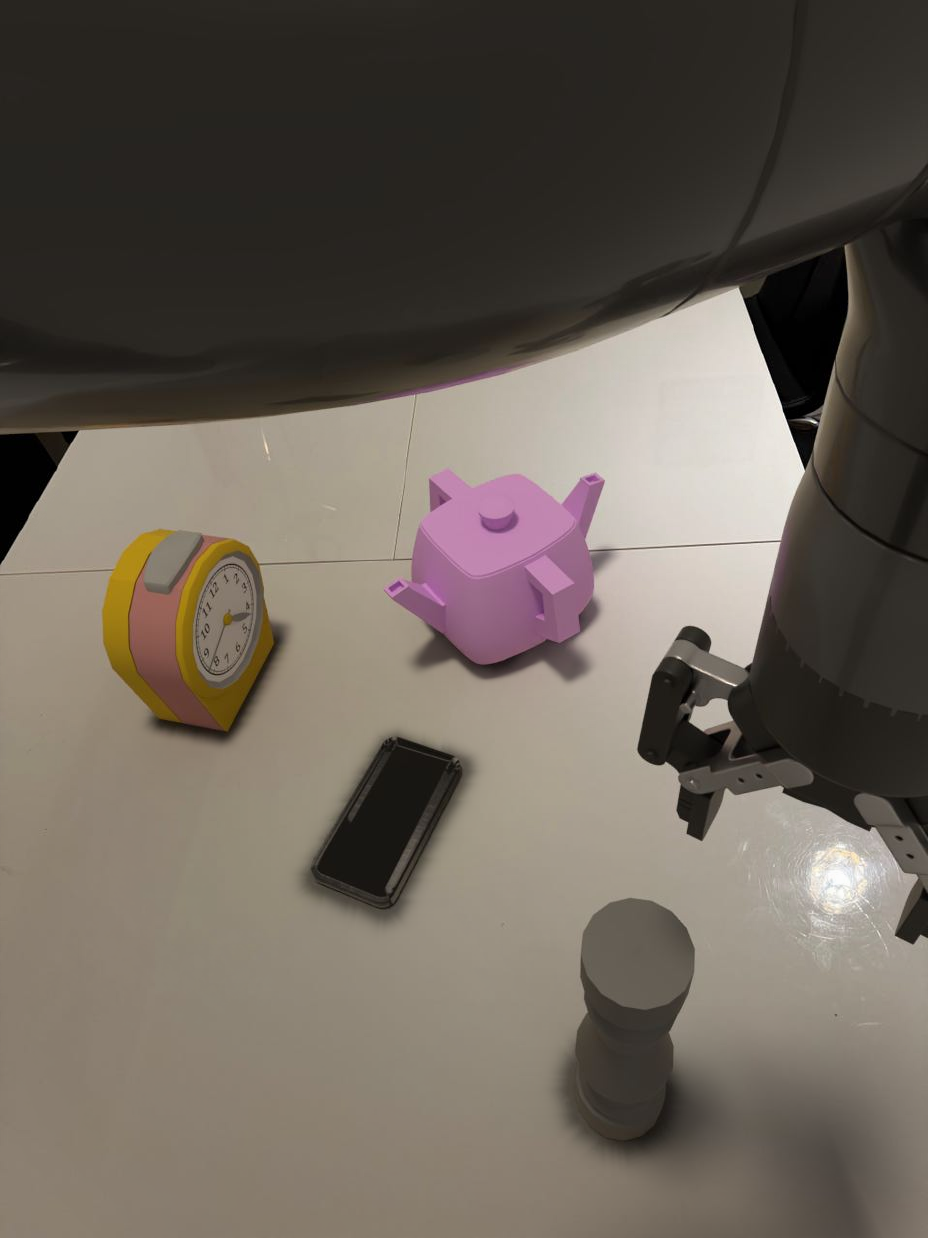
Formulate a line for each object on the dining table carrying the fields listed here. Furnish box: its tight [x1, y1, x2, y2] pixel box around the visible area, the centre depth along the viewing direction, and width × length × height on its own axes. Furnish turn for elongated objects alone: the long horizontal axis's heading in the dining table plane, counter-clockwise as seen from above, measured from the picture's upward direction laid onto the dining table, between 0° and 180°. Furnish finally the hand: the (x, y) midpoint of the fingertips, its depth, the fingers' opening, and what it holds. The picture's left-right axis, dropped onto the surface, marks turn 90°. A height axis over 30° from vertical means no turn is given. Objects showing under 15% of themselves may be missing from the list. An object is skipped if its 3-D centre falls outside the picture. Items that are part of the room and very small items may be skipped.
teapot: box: [383, 467, 606, 665], centre depth 90 cm, size 19×18×15 cm
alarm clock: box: [101, 528, 275, 732], centre depth 86 cm, size 15×8×18 cm, turn 164°
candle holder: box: [573, 897, 696, 1142], centre depth 55 cm, size 6×6×25 cm
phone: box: [310, 736, 462, 909], centre depth 80 cm, size 8×1×15 cm
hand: (802, 869), depth 37 cm, fingers open, 8 cm apart
